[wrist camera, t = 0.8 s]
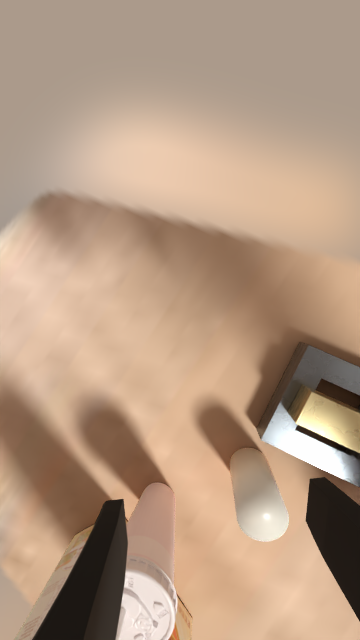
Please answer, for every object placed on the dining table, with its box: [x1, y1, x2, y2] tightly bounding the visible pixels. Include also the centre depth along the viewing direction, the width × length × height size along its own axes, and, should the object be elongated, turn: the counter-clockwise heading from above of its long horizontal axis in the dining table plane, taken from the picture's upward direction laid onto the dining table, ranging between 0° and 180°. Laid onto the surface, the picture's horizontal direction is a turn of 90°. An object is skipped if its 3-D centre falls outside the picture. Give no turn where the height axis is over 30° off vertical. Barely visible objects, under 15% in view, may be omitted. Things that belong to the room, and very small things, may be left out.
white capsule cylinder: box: [230, 448, 289, 542], centre depth 21 cm, size 4×4×6 cm
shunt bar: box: [288, 384, 360, 453], centre depth 20 cm, size 8×3×2 cm, turn 66°
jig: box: [257, 342, 360, 487], centre depth 21 cm, size 14×10×3 cm
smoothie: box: [116, 482, 178, 640], centre depth 19 cm, size 6×6×14 cm
